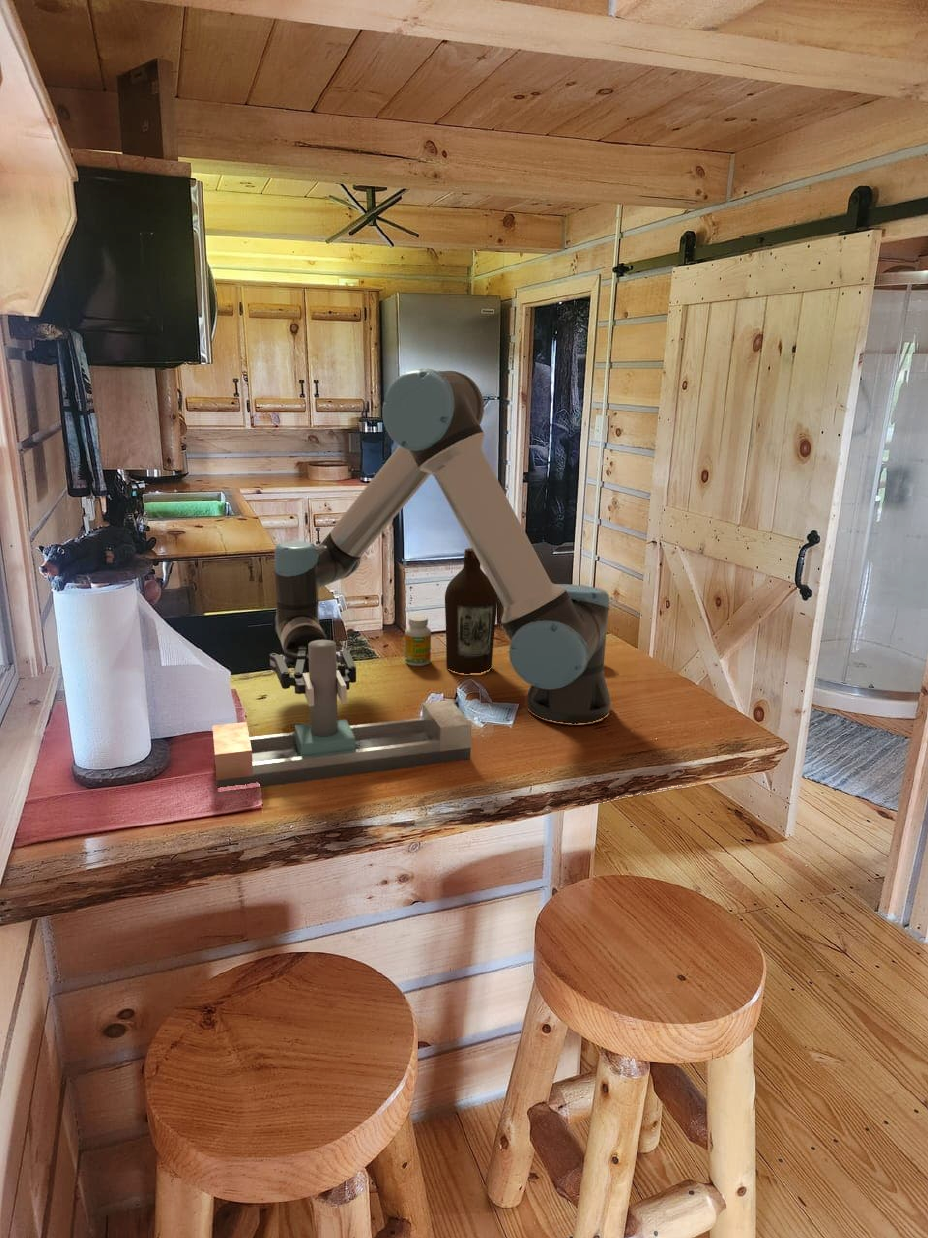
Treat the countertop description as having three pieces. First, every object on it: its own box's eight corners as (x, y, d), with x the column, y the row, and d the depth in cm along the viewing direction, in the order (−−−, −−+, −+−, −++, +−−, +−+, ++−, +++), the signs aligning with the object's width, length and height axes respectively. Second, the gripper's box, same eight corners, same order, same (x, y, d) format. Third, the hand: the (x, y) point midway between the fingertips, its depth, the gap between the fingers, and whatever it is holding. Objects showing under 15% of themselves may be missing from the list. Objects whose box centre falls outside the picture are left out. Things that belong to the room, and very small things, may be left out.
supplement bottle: (411, 668, 162) (411, 622, 160) (400, 659, 167) (401, 615, 164) (434, 664, 165) (435, 619, 162) (424, 656, 169) (424, 613, 167)
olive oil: (438, 661, 167) (440, 544, 160) (487, 658, 169) (491, 543, 162) (449, 679, 157) (451, 556, 150) (500, 676, 159) (505, 554, 152)
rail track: (450, 732, 133) (451, 699, 131) (470, 759, 124) (471, 724, 122) (215, 761, 121) (212, 725, 119) (217, 793, 112) (214, 754, 110)
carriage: (346, 736, 125) (344, 634, 120) (355, 756, 119) (353, 649, 114) (295, 742, 123) (291, 638, 118) (301, 762, 116) (297, 654, 111)
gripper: (355, 661, 139) (385, 713, 118) (255, 670, 134) (268, 726, 112) (354, 620, 137) (385, 666, 116) (253, 628, 131) (266, 677, 110)
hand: (327, 695), depth 114 cm, fingers closed on carriage, 4 cm apart
